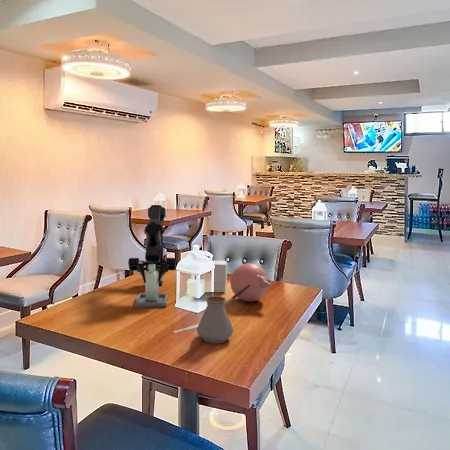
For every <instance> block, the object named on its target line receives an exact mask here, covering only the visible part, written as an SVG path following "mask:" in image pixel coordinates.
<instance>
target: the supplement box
mask: <svg viewBox="0 0 450 450" xmlns="http://www.w3.org/2000/svg"><path fill="white" fill-rule="evenodd" d="M212 261H213V263H214V265H215V269H214V292H225V293H226V292H227V289H226V288H227V287H228V286H227V285H228V284H227V281H228V280H227V279H228V261H227V260H212ZM214 292H213V293H214Z"/></svg>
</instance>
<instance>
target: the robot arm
mask: <svg viewBox="0 0 450 450" xmlns="http://www.w3.org/2000/svg"><path fill="white" fill-rule="evenodd" d="M166 211H167V210H166V207H163V206H162V205H161V204H151V205H150V207H148V208H147V218H149V220H148V221H147V222H146V225H145V227H144V230H143V231H144V235H145V236H146V237H145V239H146V247H145V253H144V255H145V257H144V260H142V259H140V258H139V257H130V258H128V260H127V261H128V262H127V263H128V265H127V266H128V269H129V271H137V273H140V275H141V277H142V281H143V284H145V272H146V271H149V264H155V271H158V272H159V287H160V286H161V287H163V283H164V280H162V279H163V277H164V275H165V274H166V273H168V272H169V271H176V270H177V259H176V258H175V257H166V259H165V258H164V244H162V243H161V241H162V239H161V237H162V236H163V235H164V234H165V232H166V231H165V230H166V229H165V227H164V225H163V224H164V223H165V218H167V214H166V213H167V212H166Z"/></svg>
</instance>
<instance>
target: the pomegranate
mask: <svg viewBox="0 0 450 450" xmlns="http://www.w3.org/2000/svg"><path fill="white" fill-rule="evenodd" d="M271 281H272V280H271V279H270V278H269V277H268V274H267V273H266V271H265V269H264V268H262V267H261V266H260V265H258V264H255V263H251V262H247V263H243V264H241V265H239V266H238V267H236V268H235V269H234V271H233V272H232V274H231V276H230V288H231V291H232V292H233V294H234V295H235V294H236V293H237V292H238V291H240V290H242V289H243V288H244V287H246V286H247V285H249V284H250V285H251V286H252V287H253V289H252V287H251V286H250V287H249V288H250V289H252V290H250V289H249V288H247V290H245V291H244V292H243V293H242V294H241V295H239V296H238V297H237V298H238V299H240V300H241V301H244V302H247V301H248V302H249V303H250V302H251V303H252V302H256V301H258V300H260V299H261V298H263V297H264V296H265V295H266V293H267V291H268V289H269V288H270V287H272V285H273V283H272V282H271Z"/></svg>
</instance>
